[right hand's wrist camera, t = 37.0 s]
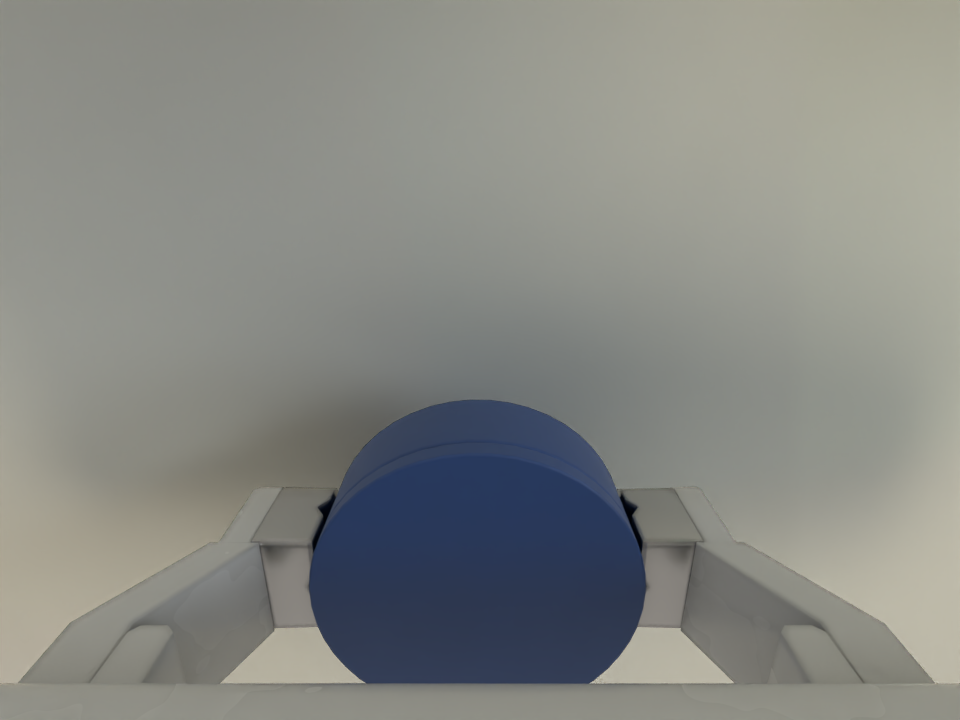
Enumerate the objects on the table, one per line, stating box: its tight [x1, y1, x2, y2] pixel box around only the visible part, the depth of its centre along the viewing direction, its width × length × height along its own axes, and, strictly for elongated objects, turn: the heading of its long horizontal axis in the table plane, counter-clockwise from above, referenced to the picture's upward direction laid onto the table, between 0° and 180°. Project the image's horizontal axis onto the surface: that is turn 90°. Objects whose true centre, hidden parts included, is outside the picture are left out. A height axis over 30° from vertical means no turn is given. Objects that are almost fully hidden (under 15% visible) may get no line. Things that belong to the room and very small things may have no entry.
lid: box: [309, 400, 646, 684], centre depth 9 cm, size 5×5×2 cm
